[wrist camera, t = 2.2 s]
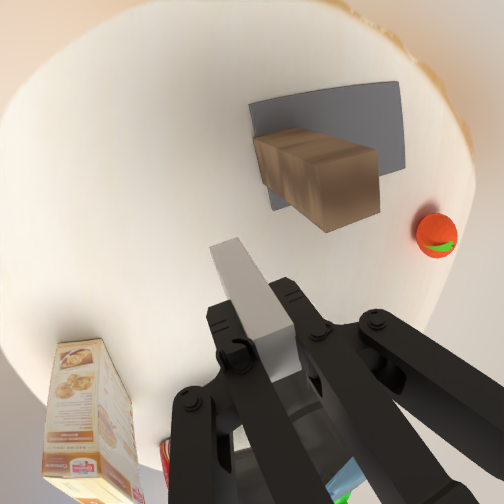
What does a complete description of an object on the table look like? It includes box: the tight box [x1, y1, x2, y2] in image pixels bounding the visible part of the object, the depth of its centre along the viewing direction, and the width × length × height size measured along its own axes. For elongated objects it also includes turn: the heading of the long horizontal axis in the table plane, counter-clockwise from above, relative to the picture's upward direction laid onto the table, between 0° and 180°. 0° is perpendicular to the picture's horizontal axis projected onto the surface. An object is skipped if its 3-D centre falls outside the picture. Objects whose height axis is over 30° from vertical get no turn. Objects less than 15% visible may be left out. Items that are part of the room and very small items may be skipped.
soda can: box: [160, 439, 170, 488], centre depth 46 cm, size 7×7×12 cm
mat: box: [249, 82, 405, 211], centre depth 33 cm, size 12×20×1 cm, turn 103°
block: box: [253, 127, 380, 233], centre depth 26 cm, size 5×5×13 cm
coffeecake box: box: [42, 339, 145, 504], centre depth 30 cm, size 15×7×20 cm, turn 0°
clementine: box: [416, 213, 457, 258], centre depth 41 cm, size 8×7×7 cm
